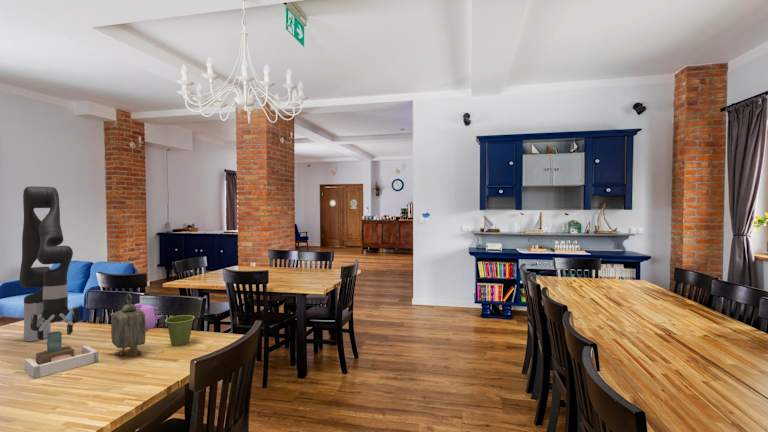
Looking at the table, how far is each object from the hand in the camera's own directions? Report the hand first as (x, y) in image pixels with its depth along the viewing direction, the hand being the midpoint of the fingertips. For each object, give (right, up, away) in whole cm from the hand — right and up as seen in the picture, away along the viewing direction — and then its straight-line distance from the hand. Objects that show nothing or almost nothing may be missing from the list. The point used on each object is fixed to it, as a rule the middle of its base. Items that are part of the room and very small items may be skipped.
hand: (55, 337), depth 151 cm
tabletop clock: (+23, -10, +8) cm, 27 cm away
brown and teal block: (0, -10, 0) cm, 10 cm away
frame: (+7, -9, -5) cm, 13 cm away
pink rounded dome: (+6, -10, -4) cm, 12 cm away
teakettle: (+4, -10, +43) cm, 45 cm away
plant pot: (+38, -10, +21) cm, 45 cm away
